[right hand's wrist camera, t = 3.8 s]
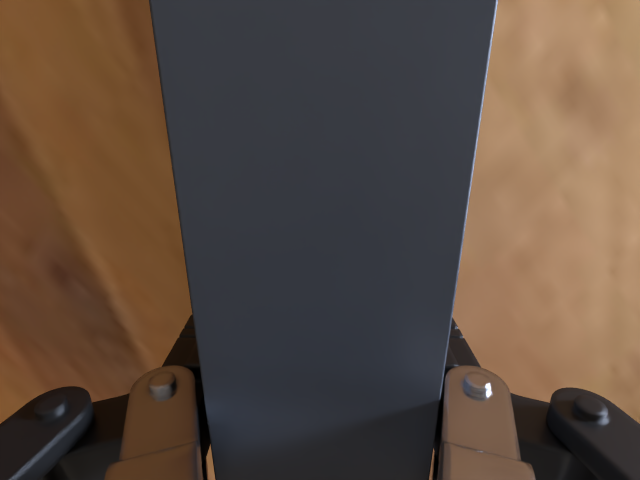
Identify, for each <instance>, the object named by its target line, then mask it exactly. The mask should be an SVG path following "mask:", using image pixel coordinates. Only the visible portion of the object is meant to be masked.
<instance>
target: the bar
mask: <svg viewBox="0 0 640 480" xmlns="http://www.w3.org/2000/svg"><path fill="white" fill-rule="evenodd" d="M497 3H498V0H149V4H150V11H151V18H152V25H153V33H154V40H155V47H156V54H157V61H158V69H159V76H160V83H161V90H162V97H163V105H164V112H165V119H166V126H167V133H168V141H169V148H170V155H171V162H172V170H173V177H174V184H175V191H176V198H177V206H178V213H179V220H180V227H181V234H182V242H183V249H184V256H185V263H186V270H187V278H188V285H189V292H190V299H191V306H192V314H193V321H194V328H195V335H196V342H197V350H198V357H199V364H200V371H201V378H202V386H203V393H204V400H205V407H206V414H207V422H208V429H209V436H210V443H211V450H212V458H213V465H214V472H215V479H216V480H429V474H430V467H431V460H432V453H433V446H434V439H435V432H436V425H437V419H438V412H439V405H440V398H441V391H442V384H443V377H444V370H445V363H446V356H447V349H448V342H449V335H450V328H451V321H452V315H453V308H454V301H455V294H456V287H457V280H458V273H459V266H460V259H461V252H462V245H463V238H464V231H465V224H466V217H467V211H468V204H469V197H470V190H471V183H472V176H473V169H474V162H475V155H476V148H477V141H478V134H479V127H480V120H481V113H482V107H483V100H484V93H485V86H486V79H487V72H488V65H489V58H490V51H491V44H492V37H493V30H494V23H495V16H496V10H497Z"/></svg>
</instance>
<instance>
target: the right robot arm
mask: <svg viewBox="0 0 640 480" xmlns="http://www.w3.org/2000/svg"><path fill="white" fill-rule="evenodd" d="M209 446H210V436H209V429H208V422H207V414H206V407H205V400H204V393H203V386H202V378H201V371H200V364H199V357H198V350H197V342H196V335H195V328H194V321H193V314H192V315H191V316H190V318H189V320H188V321H187V323H186V325H185V328H184V329H183V330H182V332H181V334H180V337H179V338H178V339H177V341H176V343H175V344H174V346H173V348H172V350H171V351H170V353H169V355H168V357H167V358H166V360H165V362H164V364H163V365H162V367H160V368H157V369H154V370H152V371H150V372H148V373H146V374H144V375H143V376H142V377H140V378H139V379H138V380H137V381H136V382H135V383H134V385H133V386H132V388H131V390H130V393H129V394H126V395H123V396H119V397H115V398H110V399H106V400H101V401H97V402H93V403H92V402H91V398H90V395H89V393H88V391H87V390H85V389H83V388H80V387H62V388H57V389H54V390H51V391H48V392H46V393H44V394H42V395H40V396H38V397H36V398H34V399H33V400H31V401H30V402H28V403H27V404H26V405H24V406H23V407H22V408H20V409H19V410H18V411H17V412H15V413H14V414H13V415H11V416H10V417H9V418H8V419H6V420H5V421H4V422H2V423H1V424H0V480H208V467H207V459H206V456H207V453H208V450H209ZM433 448H434V451H435V452H434V459H433V467H432V480H640V424H639V423H638V422H636V421H635V420H634V419H632V418H631V417H630V416H629V415H627V414H626V413H625V412H623V411H622V410H621V409H620V408H618V407H617V406H616V405H614V404H613V403H612V402H610V401H609V400H607V399H605V398H604V397H602V396H600V395H597V394H595V393H593V392H590V391H587V390H583V389H578V388H561V389H558V390H557V391H555V392H554V393H553V394H552V397H551V401H550V403H548V402H543V401H539V400H534V399H530V398H526V397H522V396H518V395H515V394H512V393H510V390H509V388H508V386H507V385H506V383H505V382H504V381H503V380H502V379H501V378H500V377H498V376H497V375H496V374H494V373H492V372H490V371H488V370H486V369H483V368H481V366H480V365H479V363H478V361H477V359H476V358H475V356H474V354H473V352H472V351H471V349H470V347H469V346H468V344H467V342H466V340H465V339H464V338H463V335H462V333H461V332H460V330H459V329H458V326H457V325H456V323H455V321H454V320H453V318H452V321H451V328H450V335H449V342H448V349H447V356H446V363H445V370H444V377H443V384H442V391H441V398H440V405H439V412H438V419H437V425H436V432H435V439H434V446H433Z"/></svg>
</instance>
